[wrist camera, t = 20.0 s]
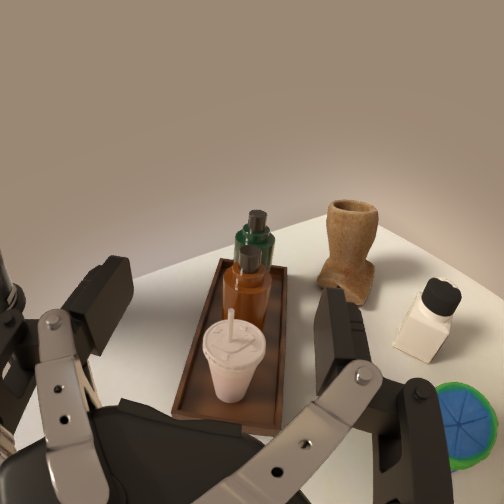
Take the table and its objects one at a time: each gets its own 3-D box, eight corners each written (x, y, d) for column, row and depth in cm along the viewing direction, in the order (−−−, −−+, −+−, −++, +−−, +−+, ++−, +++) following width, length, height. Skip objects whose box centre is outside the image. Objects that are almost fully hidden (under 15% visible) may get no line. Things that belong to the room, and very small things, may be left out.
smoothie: (198, 374, 37) (195, 291, 29) (247, 365, 39) (258, 283, 31) (211, 417, 32) (210, 341, 24) (264, 405, 34) (283, 328, 26)
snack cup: (358, 498, 24) (403, 471, 18) (361, 422, 32) (395, 377, 27) (466, 487, 22) (519, 453, 16) (457, 423, 31) (500, 381, 25)
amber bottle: (212, 332, 43) (213, 249, 36) (239, 312, 47) (246, 232, 40) (245, 355, 40) (255, 272, 33) (270, 331, 44) (286, 250, 37)
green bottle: (224, 289, 52) (228, 212, 44) (246, 273, 56) (254, 201, 48) (252, 306, 49) (262, 227, 41) (274, 288, 53) (286, 214, 45)
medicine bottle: (428, 365, 40) (465, 309, 34) (391, 346, 44) (422, 288, 37) (436, 338, 45) (467, 284, 39) (402, 321, 49) (429, 265, 42)
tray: (277, 437, 31) (281, 429, 30) (172, 420, 31) (170, 412, 30) (285, 276, 57) (287, 267, 56) (219, 267, 57) (220, 257, 56)
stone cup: (325, 251, 66) (340, 186, 58) (376, 270, 61) (397, 205, 53) (298, 288, 54) (314, 211, 46) (360, 313, 50) (389, 237, 42)
